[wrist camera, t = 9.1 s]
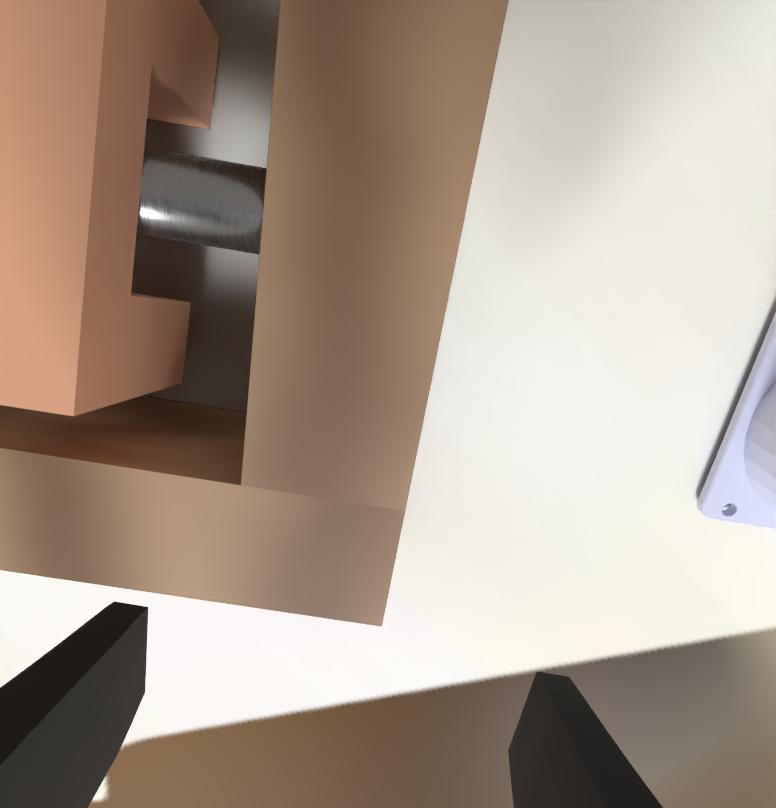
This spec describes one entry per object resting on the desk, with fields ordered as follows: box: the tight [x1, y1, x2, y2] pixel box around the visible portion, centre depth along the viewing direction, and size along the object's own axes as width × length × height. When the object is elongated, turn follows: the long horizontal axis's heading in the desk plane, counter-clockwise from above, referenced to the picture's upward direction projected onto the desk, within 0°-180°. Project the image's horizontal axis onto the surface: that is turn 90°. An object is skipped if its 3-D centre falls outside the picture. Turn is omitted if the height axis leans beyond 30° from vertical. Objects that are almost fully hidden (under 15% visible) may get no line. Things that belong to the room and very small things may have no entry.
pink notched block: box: [0, 0, 220, 416], centre depth 13 cm, size 4×10×6 cm, turn 171°
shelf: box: [0, 0, 508, 626], centre depth 14 cm, size 18×22×5 cm
